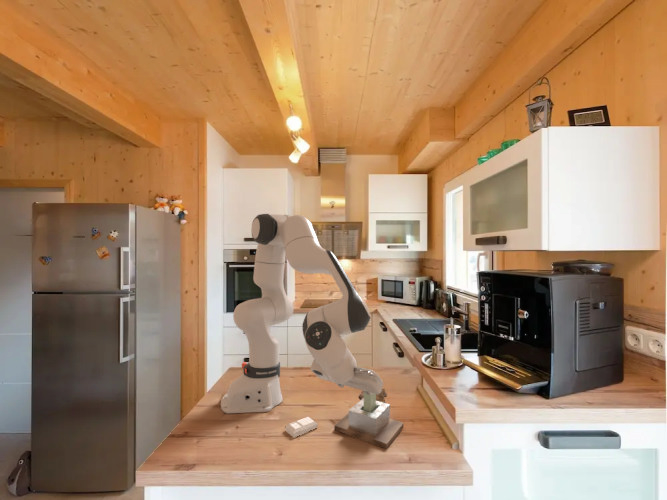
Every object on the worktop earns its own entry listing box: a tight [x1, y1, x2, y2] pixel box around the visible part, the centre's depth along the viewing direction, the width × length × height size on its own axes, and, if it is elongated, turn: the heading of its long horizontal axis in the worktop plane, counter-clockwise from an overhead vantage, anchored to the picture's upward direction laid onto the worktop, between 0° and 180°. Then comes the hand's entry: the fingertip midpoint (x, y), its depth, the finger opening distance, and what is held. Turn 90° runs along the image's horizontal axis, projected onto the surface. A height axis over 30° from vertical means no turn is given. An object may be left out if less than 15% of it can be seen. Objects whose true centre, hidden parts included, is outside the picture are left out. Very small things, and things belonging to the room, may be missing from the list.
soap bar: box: [285, 416, 319, 439], centre depth 108 cm, size 5×9×3 cm, turn 129°
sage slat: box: [364, 391, 376, 413], centre depth 109 cm, size 2×4×12 cm, turn 148°
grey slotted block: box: [348, 398, 391, 437], centre depth 109 cm, size 9×11×6 cm
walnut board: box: [334, 412, 404, 450], centre depth 109 cm, size 18×14×2 cm
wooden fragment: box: [358, 387, 388, 403], centre depth 133 cm, size 26×11×1 cm, turn 172°
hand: (355, 388), depth 100 cm, fingers open, 8 cm apart
